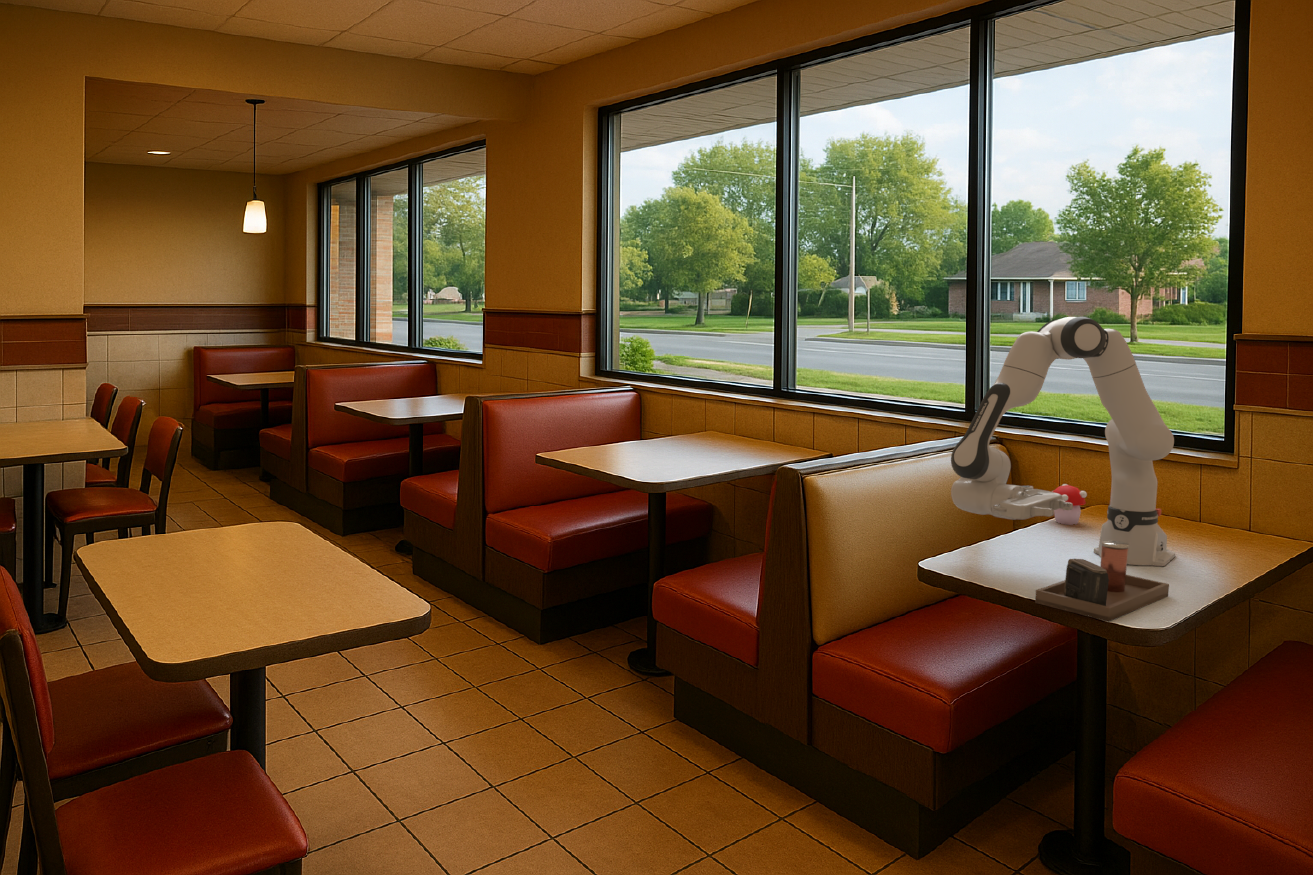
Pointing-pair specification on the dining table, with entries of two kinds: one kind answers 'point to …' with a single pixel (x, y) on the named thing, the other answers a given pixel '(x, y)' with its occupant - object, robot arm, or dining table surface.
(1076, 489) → the mushroom
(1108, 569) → the tin
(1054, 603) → the tray
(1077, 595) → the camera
